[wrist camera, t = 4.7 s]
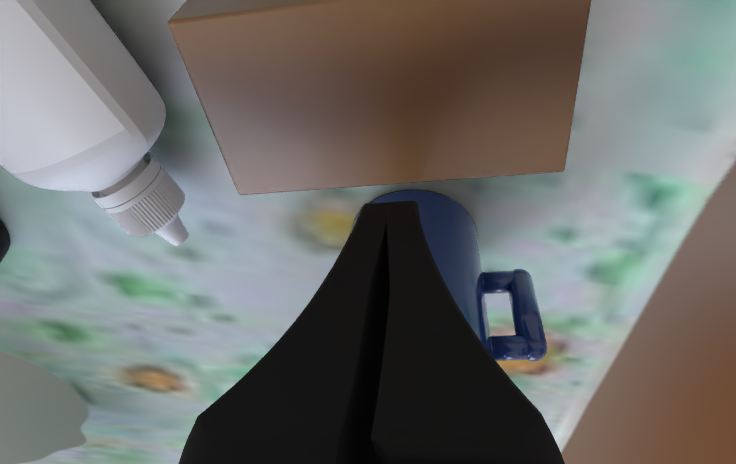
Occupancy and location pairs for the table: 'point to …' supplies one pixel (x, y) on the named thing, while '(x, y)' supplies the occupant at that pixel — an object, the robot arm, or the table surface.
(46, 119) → the eye dropper bottle
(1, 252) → the drinking cup
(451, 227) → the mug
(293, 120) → the oak block
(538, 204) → the table surface
